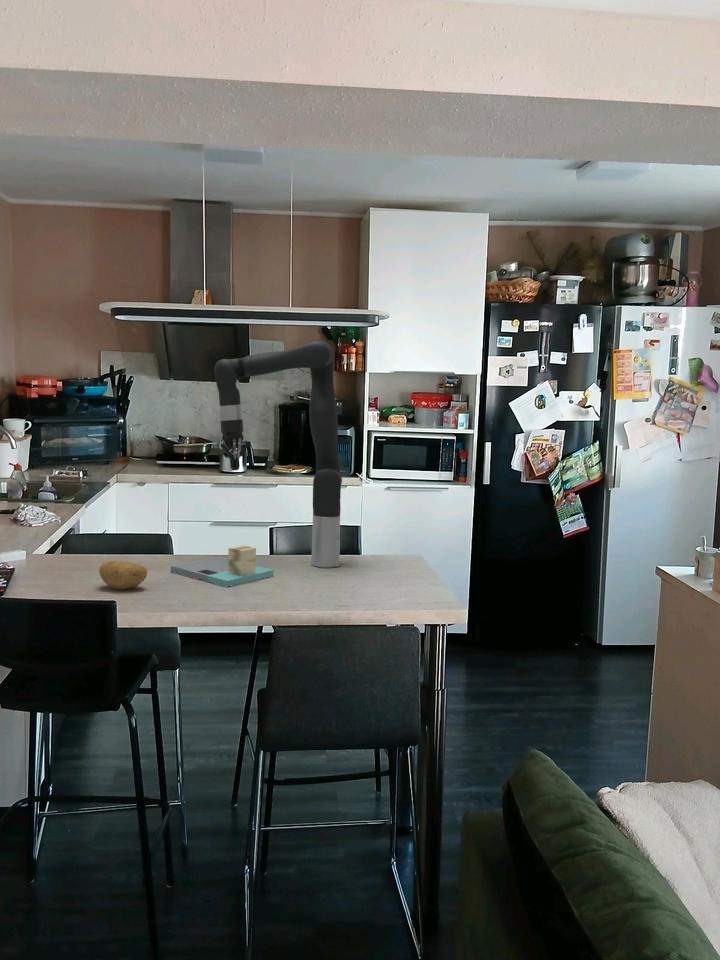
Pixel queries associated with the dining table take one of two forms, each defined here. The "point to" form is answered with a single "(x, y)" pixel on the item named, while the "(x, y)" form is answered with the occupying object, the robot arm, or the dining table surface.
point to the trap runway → (218, 571)
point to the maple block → (241, 560)
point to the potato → (122, 574)
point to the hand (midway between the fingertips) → (235, 469)
